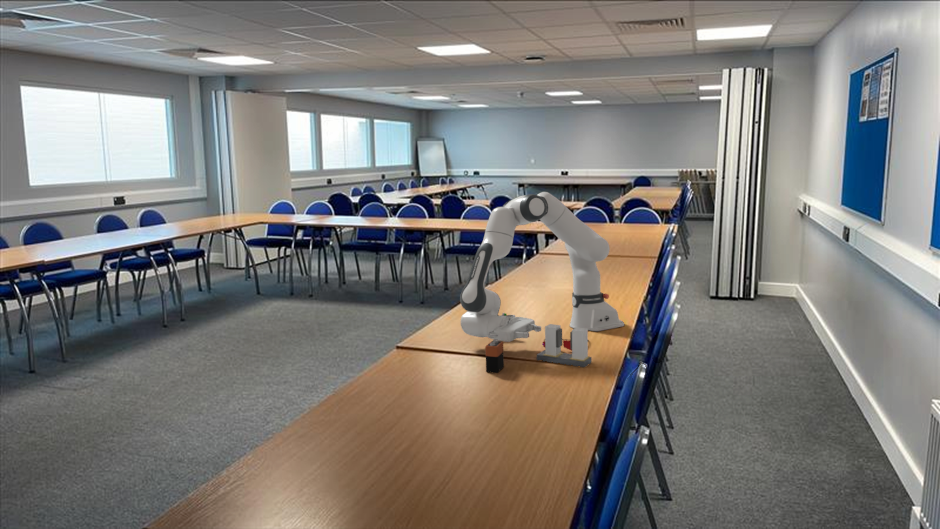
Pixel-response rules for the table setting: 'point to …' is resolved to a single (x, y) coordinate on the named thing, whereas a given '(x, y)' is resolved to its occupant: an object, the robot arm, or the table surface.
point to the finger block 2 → (579, 343)
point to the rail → (564, 359)
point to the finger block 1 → (553, 339)
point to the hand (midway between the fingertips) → (534, 332)
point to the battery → (494, 356)
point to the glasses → (565, 344)
